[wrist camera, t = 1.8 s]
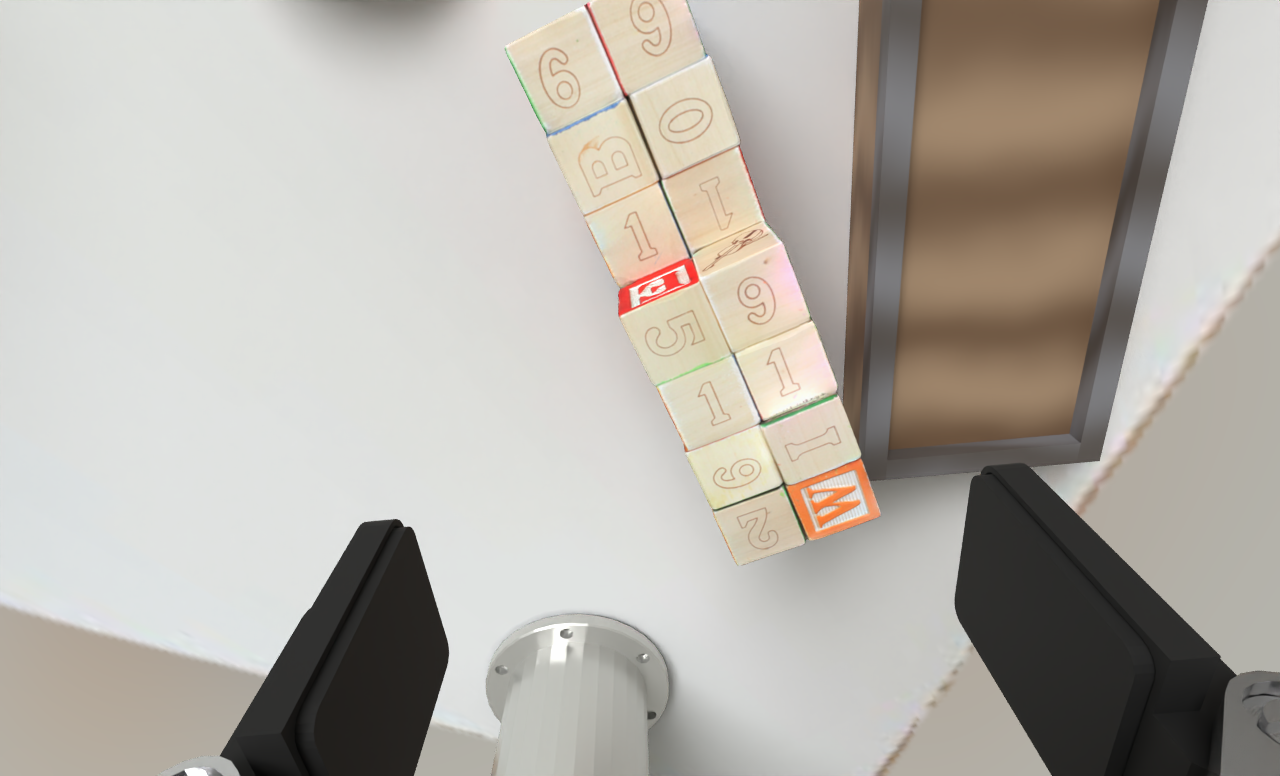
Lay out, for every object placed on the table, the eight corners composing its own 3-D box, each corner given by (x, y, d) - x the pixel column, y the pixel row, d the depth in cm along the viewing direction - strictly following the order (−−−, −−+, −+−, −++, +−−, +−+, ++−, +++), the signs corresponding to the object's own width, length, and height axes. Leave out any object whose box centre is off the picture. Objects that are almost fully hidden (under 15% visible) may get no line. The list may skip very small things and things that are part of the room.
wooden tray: (1055, 424, 39) (1099, 460, 35) (841, 443, 39) (863, 481, 35) (1172, -168, 27) (1256, -206, 23) (864, -134, 27) (900, -166, 24)
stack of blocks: (535, 50, 30) (481, 36, 19) (663, -14, 29) (685, -68, 18) (706, 429, 39) (737, 573, 27) (809, 389, 38) (885, 522, 26)
